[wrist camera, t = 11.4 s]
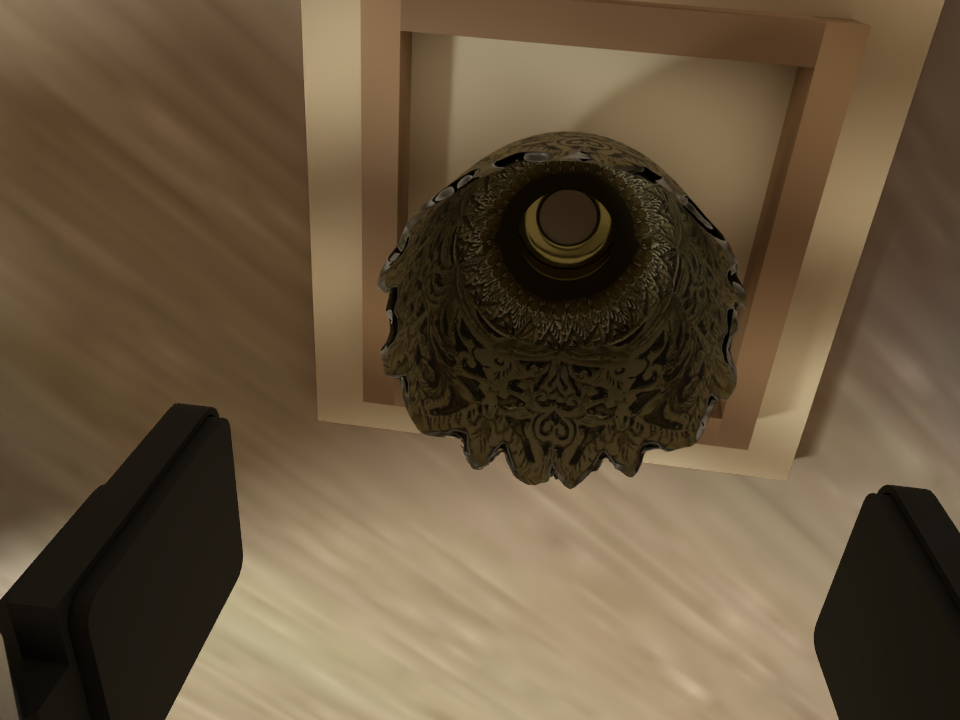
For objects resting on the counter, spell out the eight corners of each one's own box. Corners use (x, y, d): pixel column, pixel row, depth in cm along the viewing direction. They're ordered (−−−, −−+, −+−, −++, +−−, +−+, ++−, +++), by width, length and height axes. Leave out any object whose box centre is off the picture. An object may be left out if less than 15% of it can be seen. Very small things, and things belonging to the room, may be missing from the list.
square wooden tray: (780, 462, 27) (797, 509, 25) (326, 405, 28) (304, 445, 26) (949, -67, 19) (996, -67, 17) (308, -116, 20) (274, -121, 18)
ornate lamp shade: (675, 344, 24) (707, 512, 17) (439, 319, 25) (377, 472, 18) (724, 92, 20) (791, 174, 13) (446, 71, 21) (371, 139, 14)
